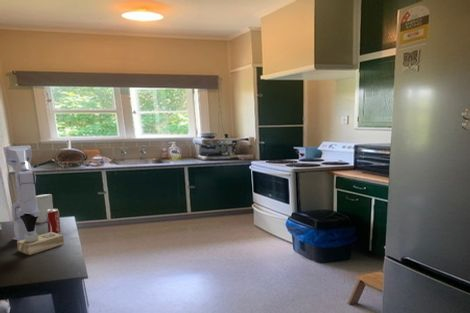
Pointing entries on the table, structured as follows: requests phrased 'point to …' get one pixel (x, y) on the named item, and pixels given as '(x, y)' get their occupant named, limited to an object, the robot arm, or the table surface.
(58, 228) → the soda can
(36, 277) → the table surface
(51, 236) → the peg
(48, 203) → the skincare box
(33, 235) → the peg
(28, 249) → the peg board
